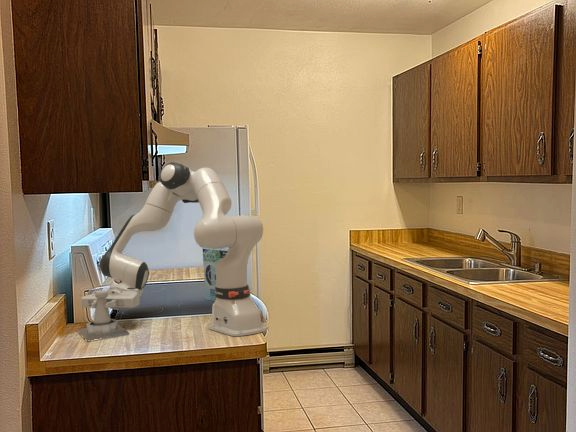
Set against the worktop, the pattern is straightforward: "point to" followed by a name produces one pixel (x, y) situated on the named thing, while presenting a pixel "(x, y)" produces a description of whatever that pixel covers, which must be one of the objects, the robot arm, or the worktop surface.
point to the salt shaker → (101, 309)
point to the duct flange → (102, 330)
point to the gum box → (211, 269)
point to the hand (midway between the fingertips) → (99, 306)
